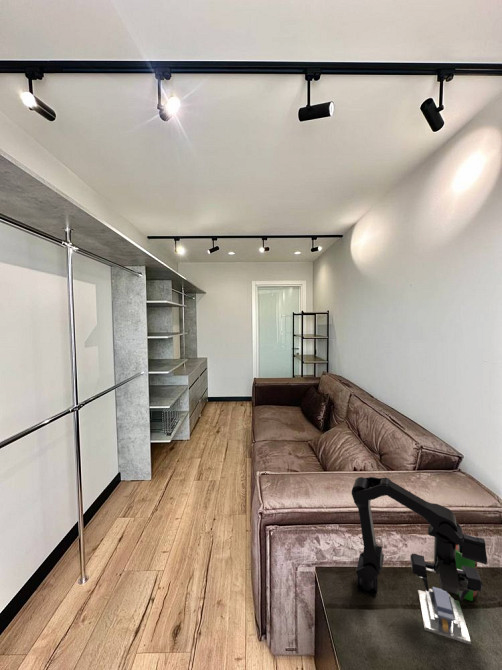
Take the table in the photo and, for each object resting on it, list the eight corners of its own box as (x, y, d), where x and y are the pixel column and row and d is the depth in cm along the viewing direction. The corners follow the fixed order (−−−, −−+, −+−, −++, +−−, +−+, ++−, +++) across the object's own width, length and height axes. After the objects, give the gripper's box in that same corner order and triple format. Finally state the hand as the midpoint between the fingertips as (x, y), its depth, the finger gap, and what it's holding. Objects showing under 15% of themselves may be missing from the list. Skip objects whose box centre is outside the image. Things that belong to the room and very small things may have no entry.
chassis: (424, 629, 94) (424, 618, 93) (418, 592, 106) (418, 582, 105) (470, 644, 89) (471, 632, 89) (458, 603, 101) (459, 593, 101)
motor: (483, 602, 101) (485, 547, 99) (454, 598, 103) (455, 544, 101) (468, 575, 111) (470, 525, 109) (441, 572, 113) (442, 522, 111)
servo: (438, 626, 94) (438, 611, 93) (432, 597, 103) (432, 583, 102) (453, 631, 92) (453, 616, 92) (445, 601, 101) (446, 587, 101)
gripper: (414, 562, 91) (414, 608, 93) (490, 580, 84) (488, 631, 86) (410, 535, 101) (409, 578, 103) (477, 550, 94) (475, 595, 96)
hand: (443, 594), depth 97 cm, fingers open, 9 cm apart
